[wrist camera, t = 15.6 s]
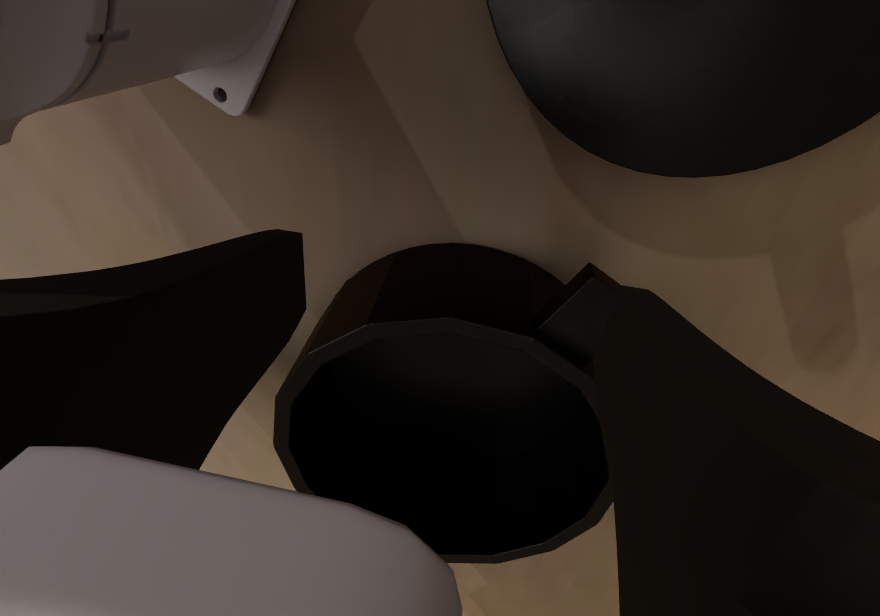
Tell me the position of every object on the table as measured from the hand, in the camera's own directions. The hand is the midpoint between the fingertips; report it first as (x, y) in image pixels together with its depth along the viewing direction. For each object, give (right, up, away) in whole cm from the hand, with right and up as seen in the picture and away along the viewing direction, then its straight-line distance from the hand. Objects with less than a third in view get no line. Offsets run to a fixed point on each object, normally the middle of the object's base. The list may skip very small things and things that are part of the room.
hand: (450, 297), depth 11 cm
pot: (+1, -3, +14) cm, 14 cm away
